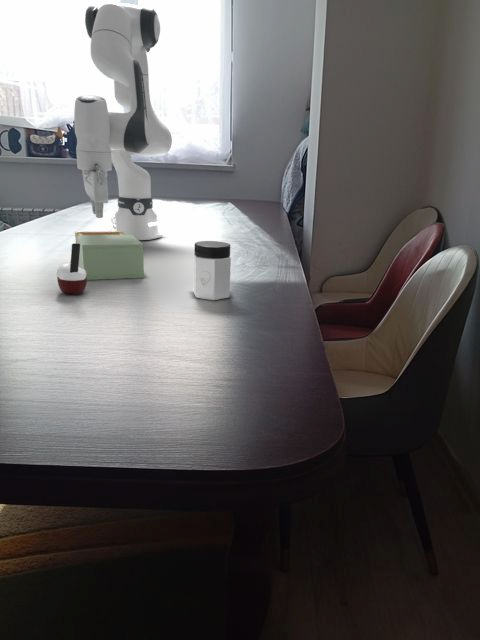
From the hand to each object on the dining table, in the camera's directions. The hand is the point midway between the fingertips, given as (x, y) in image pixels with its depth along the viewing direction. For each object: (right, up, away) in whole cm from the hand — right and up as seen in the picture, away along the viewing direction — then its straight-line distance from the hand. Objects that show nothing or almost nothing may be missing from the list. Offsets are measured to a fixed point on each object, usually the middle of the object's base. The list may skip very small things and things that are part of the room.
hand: (97, 215), depth 142 cm
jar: (+34, -25, -22) cm, 47 cm away
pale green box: (+6, -17, -7) cm, 19 cm away
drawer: (0, -11, +5) cm, 12 cm away
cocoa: (+3, -25, -27) cm, 37 cm away
